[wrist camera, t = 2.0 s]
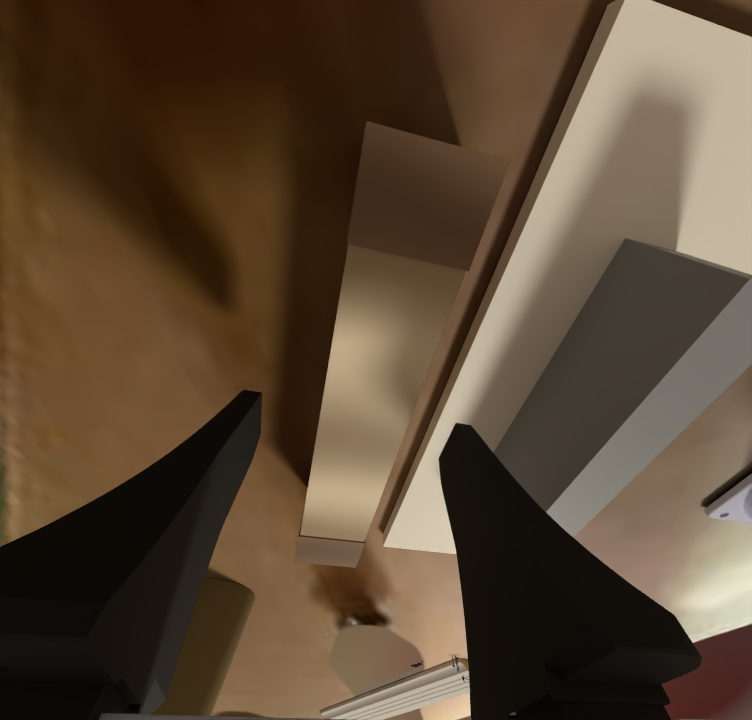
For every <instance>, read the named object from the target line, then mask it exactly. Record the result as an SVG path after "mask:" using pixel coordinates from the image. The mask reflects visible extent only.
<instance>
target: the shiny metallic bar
mask: <svg viewBox="0 0 752 720" xmlns="http://www.w3.org/2000/svg"><path fill="white" fill-rule="evenodd" d="M510 161H511V160H507V159H503V158H500V157H496V156H492V155H489V154H485V153H481V152H478V151H474V150H470V149H467V148H463V147H460V146H456V145H452V144H449V143H445V142H441V141H438V140H434V139H430V138H427V137H423V136H419V135H416V134H412V133H409V132H405V131H401V130H398V129H394V128H390V127H387V126H383V125H379V124H376V123H372V122H368V121H366V126H365V132H364V138H363V144H362V151H361V157H360V163H359V169H358V175H357V181H356V187H355V194H354V200H353V206H352V212H351V218H350V224H349V230H348V236H347V243H346V244H348V250H347V256H346V262H345V268H344V274H343V280H342V286H341V292H340V298H339V304H338V310H337V316H336V322H335V328H334V334H333V340H332V346H331V352H330V358H329V364H328V370H327V376H326V382H325V388H324V394H323V400H322V406H321V412H320V418H319V424H318V430H317V436H316V442H315V448H314V454H313V460H312V466H311V472H310V478H309V484H308V490H307V495H306V501H305V506H304V511H303V516H302V521H301V527H300V532H299V537H298V543H297V549H296V556H295V562H301V563H311V564H322V565H333V566H343V567H354V568H356V566H357V563H358V561H359V558H360V555H361V553H362V550H363V547H364V545H365V538H366V536H367V533H368V530H369V528H370V525H371V522H372V520H373V517H374V514H375V512H376V509H377V506H378V504H379V501H380V498H381V496H382V493H383V490H384V488H385V485H386V482H387V480H388V477H389V474H390V472H391V469H392V466H393V464H394V461H395V458H396V456H397V453H398V450H399V448H400V445H401V442H402V440H403V437H404V434H405V432H406V429H407V426H408V424H409V421H410V418H411V416H412V413H413V410H414V408H415V405H416V402H417V400H418V397H419V395H420V392H421V389H422V387H423V384H424V381H425V379H426V376H427V373H428V371H429V368H430V365H431V363H432V360H433V357H434V355H435V352H436V349H437V347H438V344H439V341H440V339H441V336H442V333H443V331H444V328H445V325H446V323H447V320H448V317H449V315H450V312H451V309H452V307H453V304H454V301H455V299H456V296H457V293H458V291H459V288H460V285H461V283H462V280H463V277H464V275H465V272H466V271H469V269H470V266H471V264H472V261H473V258H474V256H475V253H476V250H477V248H478V245H479V242H480V240H481V237H482V235H483V232H484V229H485V227H486V224H487V221H488V219H489V216H490V214H491V211H492V208H493V206H494V203H495V200H496V198H497V195H498V193H499V190H500V187H501V185H502V182H503V179H504V177H505V174H506V171H507V169H508V166H509V164H510Z"/></svg>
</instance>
